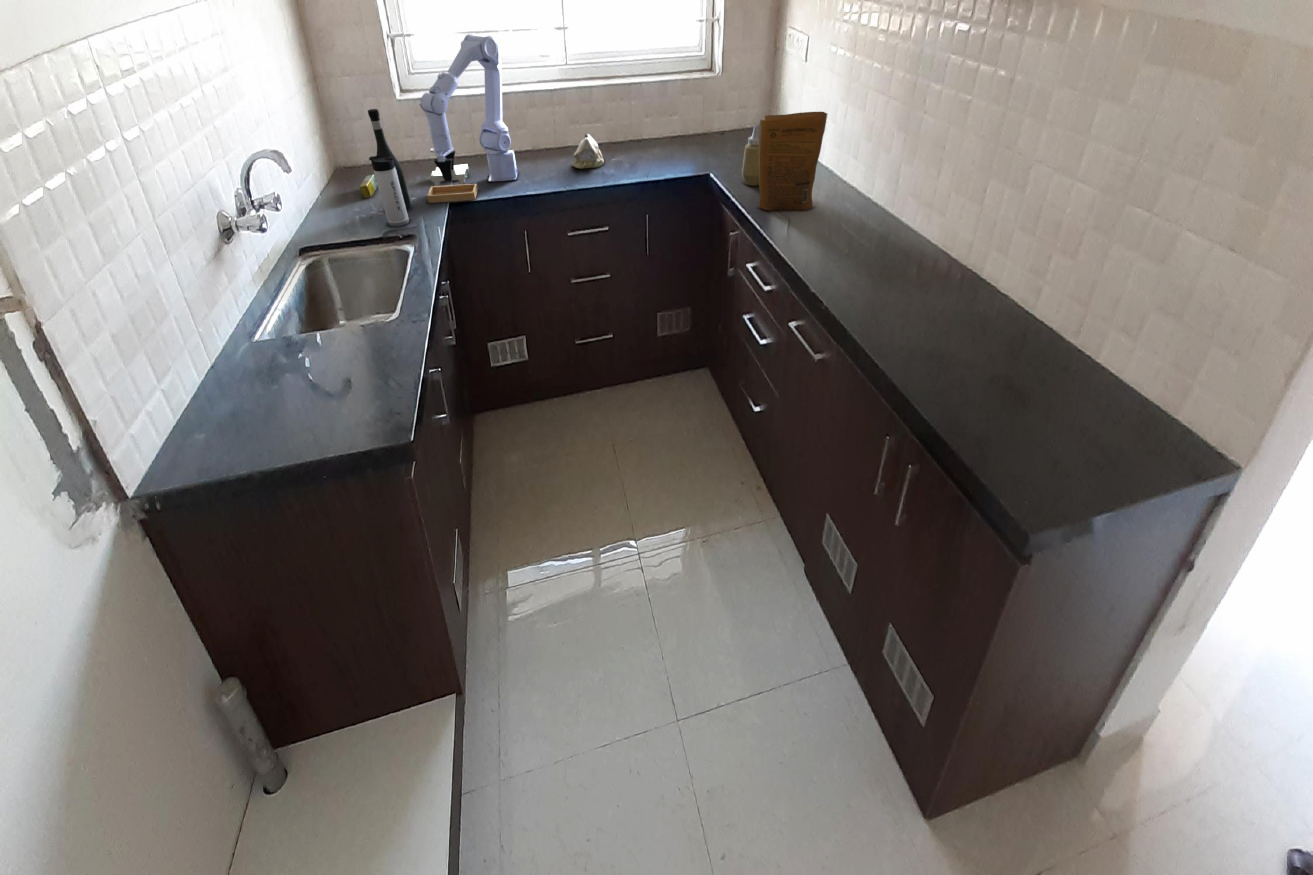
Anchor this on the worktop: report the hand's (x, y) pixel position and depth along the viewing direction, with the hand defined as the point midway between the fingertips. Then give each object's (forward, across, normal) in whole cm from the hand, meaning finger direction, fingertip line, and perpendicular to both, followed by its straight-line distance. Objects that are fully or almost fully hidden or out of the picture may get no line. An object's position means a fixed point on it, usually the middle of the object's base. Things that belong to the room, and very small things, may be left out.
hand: (449, 177), depth 233 cm
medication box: (+6, -10, -29) cm, 31 cm away
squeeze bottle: (+6, +7, +100) cm, 100 cm away
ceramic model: (+6, -26, +46) cm, 53 cm away
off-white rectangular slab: (+2, 0, 0) cm, 2 cm away
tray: (+6, 0, 0) cm, 6 cm away
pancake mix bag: (+6, +31, +105) cm, 109 cm away
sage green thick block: (+6, -20, -2) cm, 21 cm away
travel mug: (+6, +20, -14) cm, 26 cm away
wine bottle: (+6, +8, -16) cm, 19 cm away
